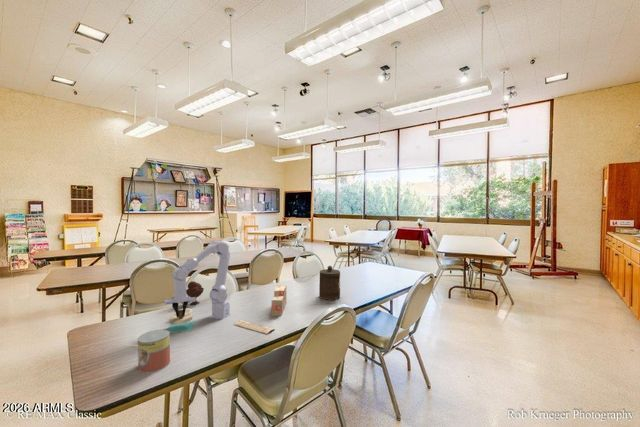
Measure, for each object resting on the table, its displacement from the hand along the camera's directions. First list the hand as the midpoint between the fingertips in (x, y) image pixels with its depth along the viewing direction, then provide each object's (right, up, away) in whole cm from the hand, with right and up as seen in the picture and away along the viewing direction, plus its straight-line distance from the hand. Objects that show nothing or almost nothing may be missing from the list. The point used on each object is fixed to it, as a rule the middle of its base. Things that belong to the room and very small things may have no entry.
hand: (180, 316), depth 150 cm
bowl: (-4, -6, +12) cm, 14 cm away
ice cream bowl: (-9, -6, +38) cm, 40 cm away
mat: (0, -6, 0) cm, 6 cm away
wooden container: (+80, -5, +53) cm, 96 cm away
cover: (0, -2, 0) cm, 2 cm away
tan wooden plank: (+39, -7, +2) cm, 39 cm away
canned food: (+6, -8, -34) cm, 36 cm away
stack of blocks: (+48, -6, +28) cm, 56 cm away
